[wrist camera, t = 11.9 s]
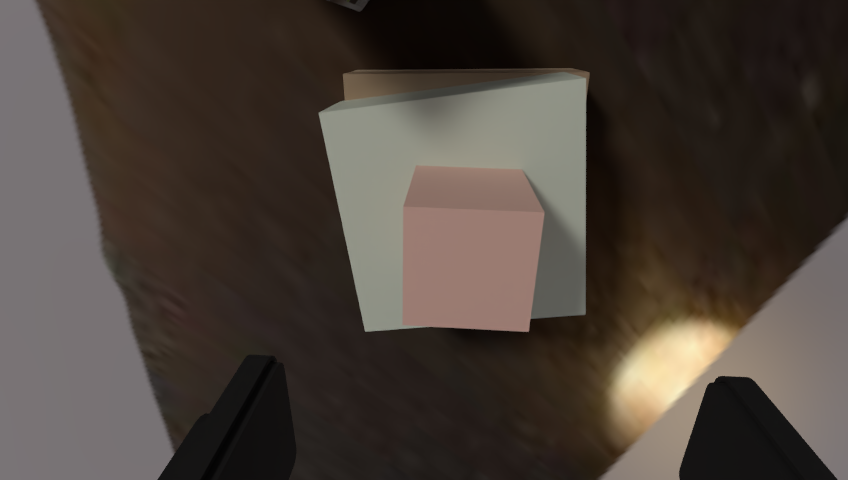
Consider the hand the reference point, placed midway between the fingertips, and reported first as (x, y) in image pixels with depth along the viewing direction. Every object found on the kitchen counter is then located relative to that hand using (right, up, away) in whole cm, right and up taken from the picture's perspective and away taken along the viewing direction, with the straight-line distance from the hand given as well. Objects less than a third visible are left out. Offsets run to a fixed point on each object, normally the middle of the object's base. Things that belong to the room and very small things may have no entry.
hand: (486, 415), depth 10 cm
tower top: (+1, +7, +17) cm, 18 cm away
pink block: (+1, +5, +13) cm, 14 cm away
